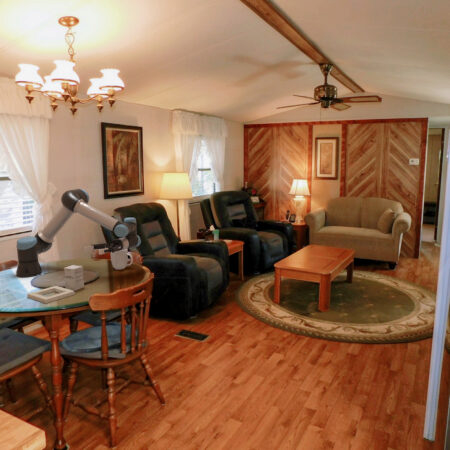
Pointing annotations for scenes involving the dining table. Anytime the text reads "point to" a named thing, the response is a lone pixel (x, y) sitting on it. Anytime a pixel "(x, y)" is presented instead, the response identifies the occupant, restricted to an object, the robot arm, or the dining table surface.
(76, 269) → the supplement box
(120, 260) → the mug
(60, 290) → the hole board
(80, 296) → the dining table surface
